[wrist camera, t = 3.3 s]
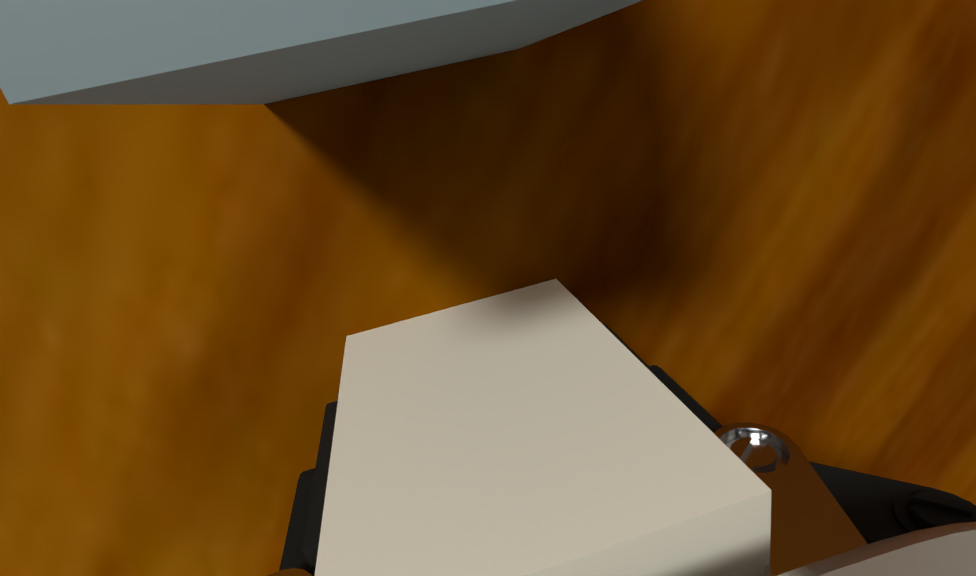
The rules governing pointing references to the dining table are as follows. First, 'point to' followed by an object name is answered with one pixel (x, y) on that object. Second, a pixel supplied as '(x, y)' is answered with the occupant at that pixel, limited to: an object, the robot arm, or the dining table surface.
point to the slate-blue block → (253, 45)
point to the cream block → (527, 455)
